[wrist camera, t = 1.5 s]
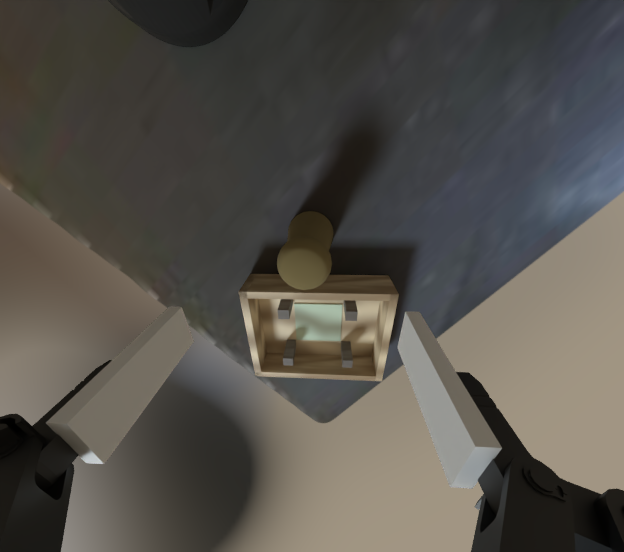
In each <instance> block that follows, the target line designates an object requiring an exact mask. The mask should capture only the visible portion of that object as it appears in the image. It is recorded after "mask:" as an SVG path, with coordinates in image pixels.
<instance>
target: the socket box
mask: <svg viewBox="0 0 624 552" xmlns="http://www.w3.org/2000/svg"><path fill="white" fill-rule="evenodd" d="M239 296H240V301H241V306H242V311H243V316H244V321H245V326H246V330H247V335H248V340H249V345H250V350H251V355H252V360H253V365H254V370H255V375H256V376H267V377H292V378H317V379H342V380H367V381H382V377H383V372H384V367H385V362H386V357H387V352H388V347H389V342H390V337H391V332H392V327H393V322H394V317H395V312H396V307H397V302H398V296H399V294H398V292H397V290H396V288H395V286H394V284H393V283H392V281H391V279H390V277H389V275H329V276H328V277H327V279H326V281H325V282H324V283H322V284H321V285H320V286H318V287H316V288H314V289H309V290H301V289H296V288H294V287H291V286H289V285H288V284H287V283H286V282H285V281H283V279H282V278H281V276H280V274H250V275H249V277H248V278H247V280H246V281H245V283H244V284H243V286H242V288H241V289H240V291H239Z"/></svg>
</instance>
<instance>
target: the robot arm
mask: <svg viewBox="0 0 624 552" xmlns="http://www.w3.org/2000/svg"><path fill="white" fill-rule="evenodd" d="M108 1H109V2H110V3H111V4H112V5H113V6H114V7H115V8H116V9H118V10H119V11H120V12H121V13H122V14H123V15H124V16H126V17H127V18H128V19H130V20H131V21H132V22H134V23H135V24H137V25H138V26H139V27H141V28H142V29H144V30H145V31H146V32H148V33H149V34H151V35H152V36H154V37H156V38H158V39H160V40H162V41H164V42H167V43H169V44H173V45H177V46H183V47H195V46H201V45H205V44H208V43H210V42H212V41H214V40H216V39H217V38H219V37H220V36H222V35H223V34H224V33H225V32H226V31H228V30H229V28H230V27H231V26H232V25H233V24H234V23H235V21H236V20H237V19H238V17H239V15H240V14H241V12H242V10H243V8H244V7H245V4H246V2H247V0H108ZM193 342H194V340H193V337H192V335H191V332H190V329H189V326H188V323H187V321H186V318H185V315H184V312H183V309H182V307H169V308H167V309H166V310H165V311H164V312H163V313H162V314H161V315H160V316H159V317H158V318H157V319H156V320H155V321H154V322H153V323H151V325H149V326H148V327H147V328H146V329H145V330H144V331H143V332H142V333H141V334H140V335H139V336H138V337H137V338H136V339H134V340H133V341H132V342H131V343H130V344H129V345H128V346H127V347H126V348H125V349H124V350H123V351H122V352H121V353H120V354H118V355H117V356H116V357H115V358H114V359H113V360H109V361H108V362H106V363H104V364H103V365H101V366H99V367H98V368H96V369H95V370H94V371H93V372H92V373H91V374H89V376H87V377H86V378H85V379H84V381H82V382H81V383H80V384H78V385H77V386H76V387H75V389H74V390H72V391H71V392H70V393H69V394H67V395H66V396H65V397H64V398H63V399H62V400H61V401H60V402H59V403H58V404H56V405H55V406H54V407H53V408H52V409H51V410H50V411H49V412H48V413H47V414H45V415H44V416H43V417H42V418H41V419H40V420H39V421H38V422H37V423H35V424H34V425H33V426H31V425H30V424H29V423H28V422H27V421H26V420H25V419H24V418H22V417H21V416H20V415H18V414H9V415H5V416H2V417H0V552H61V547H62V541H63V535H64V529H65V523H66V517H67V510H68V505H69V498H70V493H71V487H72V481H73V474H74V465H73V464H72V462H73V461H74V460H75V459H76V457H77V456H78V455H79V456H80V457H81V458H82V459H83V460H84V461H85V462H86V463H94V464H105V463H106V461H107V460H108V458H109V457H110V456H111V454H112V453H113V452H114V450H115V449H116V447H117V446H118V445H119V443H120V442H121V440H122V439H123V438H124V436H125V435H126V434H127V432H128V431H129V429H130V428H131V427H132V426H133V424H134V423H135V421H136V420H137V418H138V417H139V416H140V415H141V413H142V412H143V410H144V409H145V407H146V406H147V405H148V404H149V402H150V401H151V399H152V398H153V397H154V395H155V394H156V392H157V391H158V390H159V388H160V387H161V386H162V384H163V383H164V381H165V380H166V379H167V377H168V376H169V375H170V373H171V372H172V370H173V369H174V368H175V366H176V365H177V364H178V362H179V361H180V360H181V358H182V357H183V355H184V354H185V353H186V351H187V350H188V349H189V347H190V346H191V344H192V343H193ZM397 348H398V350H399V353H400V356H401V358H402V361H403V363H404V366H405V369H406V371H407V374H408V377H409V379H410V382H411V384H412V387H413V390H414V392H415V395H416V398H417V400H418V403H419V406H420V409H421V411H422V414H423V416H424V419H425V422H426V424H427V427H428V430H429V432H430V435H431V438H432V440H433V443H434V446H435V448H436V451H437V454H438V456H439V459H440V462H441V464H442V467H443V470H444V472H445V475H446V477H447V480H448V483H449V485H450V487H458V488H473V487H474V486H475V484H476V483H477V481H478V482H479V484H480V486H481V488H482V490H483V492H484V494H483V496H482V497H481V498H480V499H479V500H478V502H477V504H476V506H475V508H477V509H480V510H479V516H478V520H477V525H476V530H475V535H474V540H473V545H472V550H471V552H624V491H623V490H619V489H609V490H607V491H606V492H605V493H603V494H599V493H596V492H594V491H591V490H588V489H586V488H583V487H581V486H578V485H575V484H572V483H570V482H567V481H565V480H563V479H561V478H559V477H558V476H557V475H556V474H555V473H554V472H553V471H552V470H551V469H550V468H549V467H547V466H546V465H544V464H543V463H542V462H540V461H538V460H536V459H534V458H533V457H532V456H531V455H530V453H529V452H528V451H527V450H526V448H525V447H524V445H523V444H522V442H521V441H520V440H519V438H518V437H517V435H516V434H515V432H514V431H513V429H512V428H511V427H510V425H509V424H508V422H507V421H506V419H505V418H504V417H503V415H502V413H501V412H500V411H499V409H497V408H496V405H495V403H494V402H493V400H492V399H491V398H490V397H489V395H488V393H487V392H486V390H485V389H484V388H483V386H482V384H481V383H480V382H479V381H478V380H476V379H475V378H474V377H473V376H472V375H471V374H470V373H465V372H455V370H454V368H453V366H452V365H451V363H450V362H449V360H448V358H447V357H446V355H445V353H444V352H443V350H442V349H441V347H440V345H439V344H438V342H437V340H436V338H435V337H434V335H433V334H432V332H431V330H430V329H429V327H428V325H427V324H426V322H425V320H424V319H423V317H422V315H421V314H420V312H405V316H404V320H403V325H402V329H401V334H400V338H399V343H398V347H397Z"/></svg>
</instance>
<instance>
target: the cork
mask: <svg viewBox="0 0 624 552" xmlns="http://www.w3.org/2000/svg"><path fill="white" fill-rule="evenodd" d="M333 235H334V234H333V227H332V225H331V223H330V221H329V220H328V219H327V218H326V217H325V216H324V215H322V214H320V213H318V212H314V211H307V212H302V213H300V214H299V215H297V216H296V217H295V218H294V219H293V220H292V221H291V223H290V225H289V229H288V241H287V242H286V244H285V245H284V246H283V247H282V248H281V250H280V252H279V254H278V258H277V268H278V271H279V274H280V276H281V278H282V279H283V281H285V282H286V283H287V284H288V285H289V286H291V287H294V288H296V289H301V290H309V289H314V288H316V287H318V286H320V285H321V284H322V283H324V282H325V281H326V279H327V277H328V276H329V274H330V272H331V267H332V261H331V254H330V253H329V249H330V246H331V243H332V240H333Z"/></svg>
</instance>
